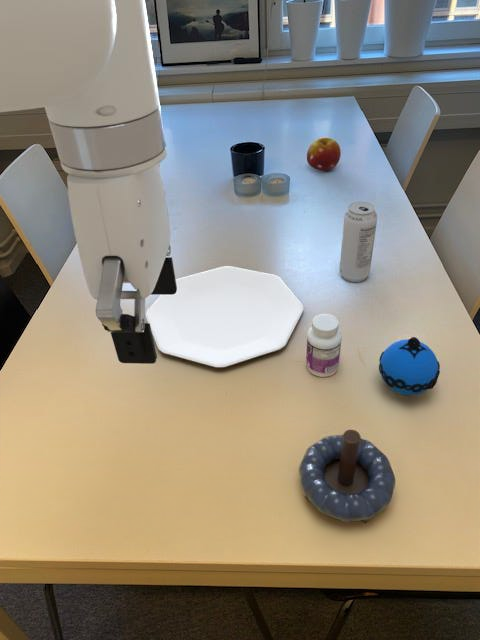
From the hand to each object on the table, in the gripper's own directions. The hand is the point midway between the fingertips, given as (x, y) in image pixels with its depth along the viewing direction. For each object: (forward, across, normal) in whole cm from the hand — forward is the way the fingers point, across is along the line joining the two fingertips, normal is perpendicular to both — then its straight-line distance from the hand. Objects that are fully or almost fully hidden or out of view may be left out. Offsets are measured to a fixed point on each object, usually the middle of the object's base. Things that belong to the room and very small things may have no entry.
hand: (150, 324), depth 45 cm
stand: (+29, -2, +20) cm, 35 cm away
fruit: (+28, -104, +23) cm, 110 cm away
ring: (+26, -2, +20) cm, 33 cm away
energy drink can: (+29, -50, +26) cm, 63 cm away
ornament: (+29, -20, +31) cm, 47 cm away
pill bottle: (+29, -24, +19) cm, 42 cm away
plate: (+29, -37, +1) cm, 47 cm away
